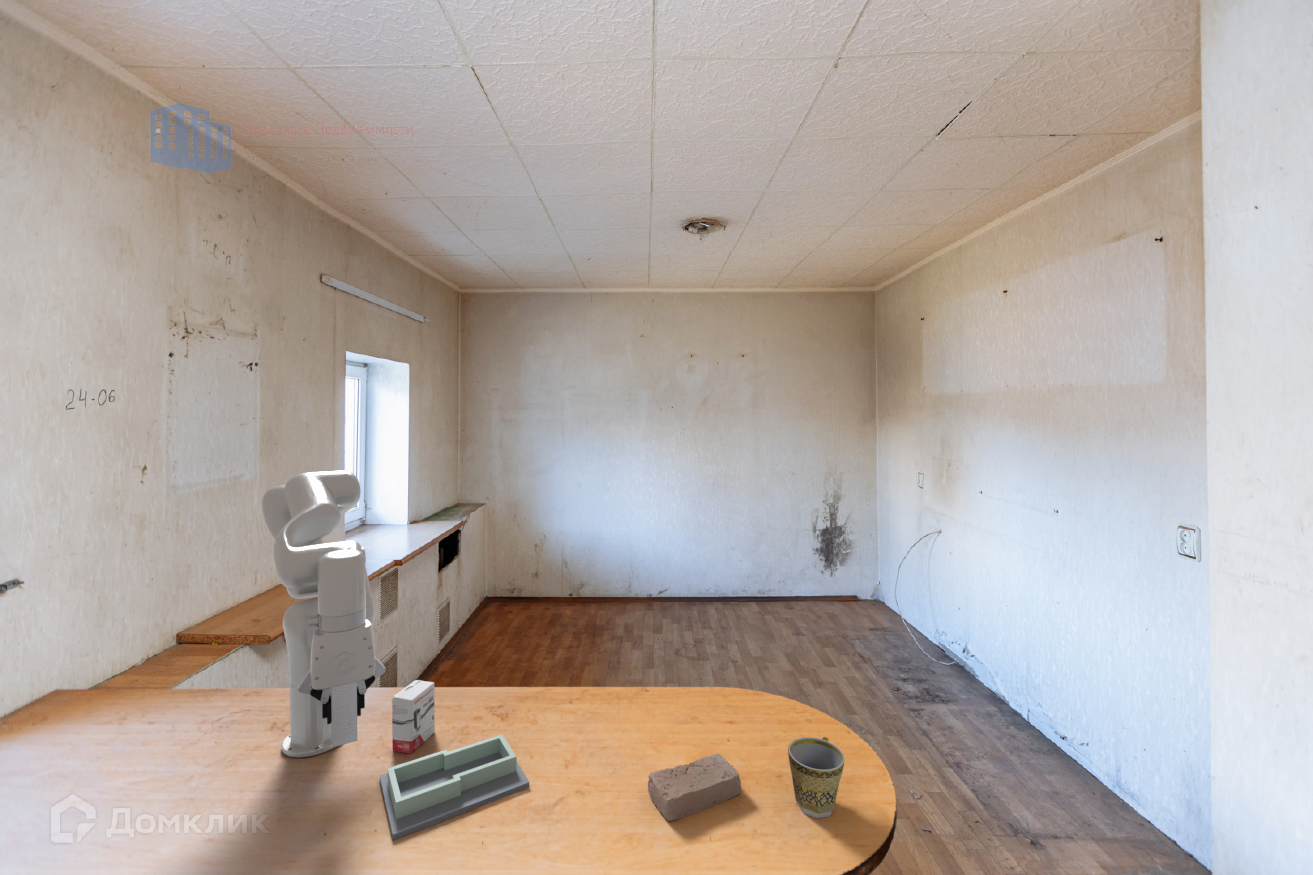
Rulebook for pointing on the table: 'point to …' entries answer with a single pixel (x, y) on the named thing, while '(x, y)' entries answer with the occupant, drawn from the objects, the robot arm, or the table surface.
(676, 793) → the brick
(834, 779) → the ceramic cup
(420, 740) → the ink box
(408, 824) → the green walled fixture tray
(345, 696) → the metal peg
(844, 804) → the table surface
